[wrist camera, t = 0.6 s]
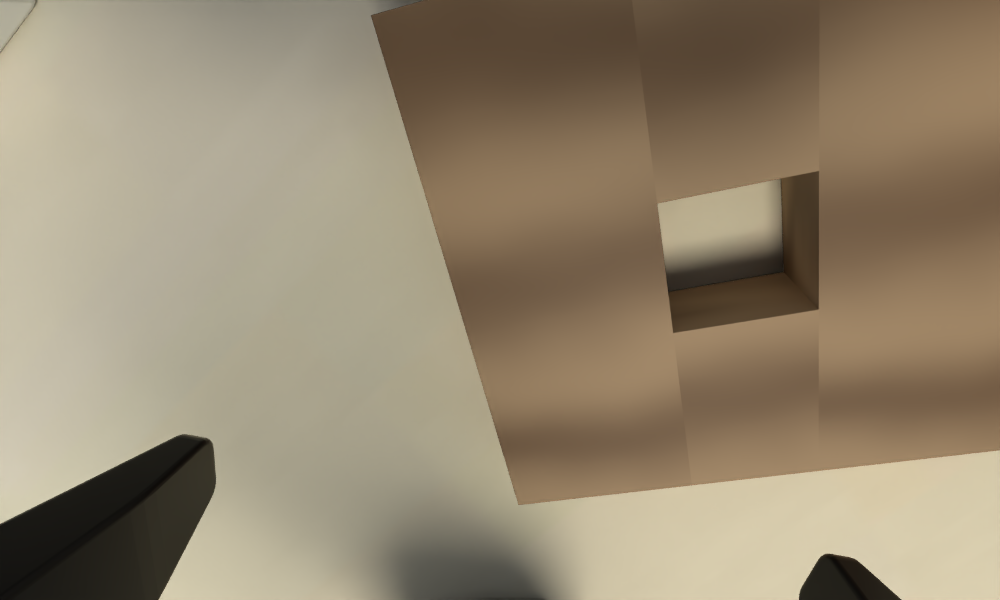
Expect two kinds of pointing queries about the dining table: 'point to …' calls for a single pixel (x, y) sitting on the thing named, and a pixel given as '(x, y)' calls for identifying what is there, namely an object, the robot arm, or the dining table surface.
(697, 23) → the socket block
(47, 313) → the dining table surface
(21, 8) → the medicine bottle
